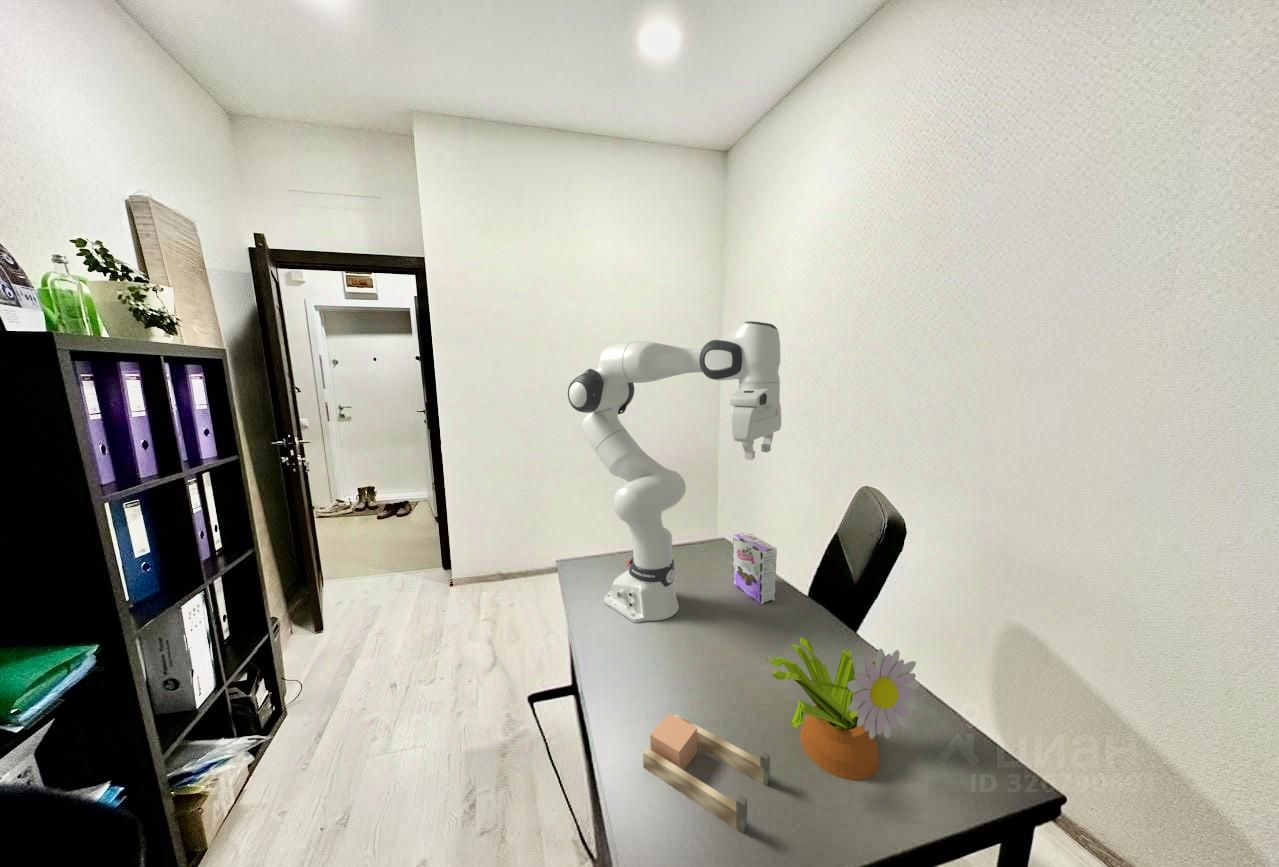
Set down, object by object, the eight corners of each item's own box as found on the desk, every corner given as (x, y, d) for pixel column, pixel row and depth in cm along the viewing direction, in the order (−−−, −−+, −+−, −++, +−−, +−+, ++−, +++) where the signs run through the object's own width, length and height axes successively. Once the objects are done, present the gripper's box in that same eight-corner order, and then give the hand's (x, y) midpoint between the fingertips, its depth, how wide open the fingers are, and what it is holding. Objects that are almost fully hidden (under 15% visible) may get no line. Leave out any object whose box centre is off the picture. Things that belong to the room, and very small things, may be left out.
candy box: (731, 583, 139) (732, 534, 136) (747, 579, 141) (747, 531, 139) (760, 605, 126) (760, 551, 124) (776, 600, 129) (777, 547, 126)
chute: (643, 767, 77) (642, 742, 76) (675, 727, 85) (675, 704, 84) (743, 833, 65) (743, 804, 65) (769, 780, 74) (770, 754, 73)
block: (650, 759, 78) (650, 734, 78) (669, 736, 83) (668, 712, 82) (679, 777, 75) (679, 751, 74) (697, 752, 80) (696, 728, 79)
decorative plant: (821, 827, 66) (828, 677, 62) (741, 708, 89) (742, 594, 85) (957, 776, 73) (971, 639, 69) (851, 679, 96) (856, 572, 92)
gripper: (763, 391, 109) (762, 446, 111) (726, 398, 93) (725, 462, 95) (788, 392, 105) (787, 448, 107) (754, 399, 89) (753, 465, 91)
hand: (758, 455), depth 101 cm, fingers open, 8 cm apart
